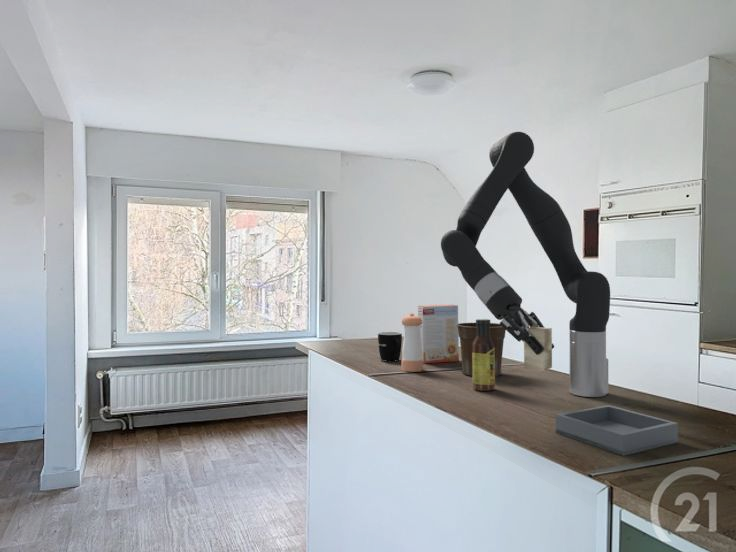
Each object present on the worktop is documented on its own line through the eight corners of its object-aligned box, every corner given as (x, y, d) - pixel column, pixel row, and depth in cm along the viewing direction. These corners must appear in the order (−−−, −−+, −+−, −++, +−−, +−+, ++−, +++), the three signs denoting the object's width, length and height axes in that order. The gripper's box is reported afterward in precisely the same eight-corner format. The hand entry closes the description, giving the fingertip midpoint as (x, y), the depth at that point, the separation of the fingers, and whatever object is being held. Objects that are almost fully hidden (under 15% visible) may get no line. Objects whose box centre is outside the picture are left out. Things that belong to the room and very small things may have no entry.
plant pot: (475, 367, 187) (474, 320, 187) (517, 373, 176) (516, 324, 176) (446, 374, 176) (446, 324, 176) (489, 381, 164) (489, 328, 164)
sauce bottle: (495, 392, 150) (495, 320, 149) (472, 391, 151) (472, 320, 150) (494, 387, 156) (494, 318, 156) (472, 386, 157) (472, 318, 157)
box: (608, 422, 120) (608, 405, 120) (677, 442, 106) (677, 423, 106) (555, 432, 113) (555, 414, 113) (623, 456, 99) (623, 435, 98)
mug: (374, 359, 205) (373, 332, 205) (394, 357, 209) (394, 331, 209) (388, 364, 194) (388, 336, 194) (410, 362, 198) (410, 334, 198)
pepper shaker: (422, 372, 179) (421, 314, 179) (400, 371, 181) (400, 314, 180) (423, 368, 187) (423, 312, 186) (402, 367, 188) (402, 312, 187)
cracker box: (452, 359, 204) (452, 303, 204) (459, 361, 198) (459, 304, 198) (417, 361, 200) (417, 304, 200) (423, 363, 195) (423, 305, 194)
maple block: (533, 365, 126) (533, 326, 125) (551, 367, 123) (551, 328, 122) (524, 368, 122) (523, 328, 122) (543, 370, 119) (542, 330, 119)
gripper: (492, 285, 122) (543, 343, 114) (521, 283, 132) (570, 336, 124) (471, 308, 126) (520, 366, 118) (502, 304, 136) (548, 357, 128)
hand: (546, 350), depth 121 cm, fingers closed on maple block, 4 cm apart
